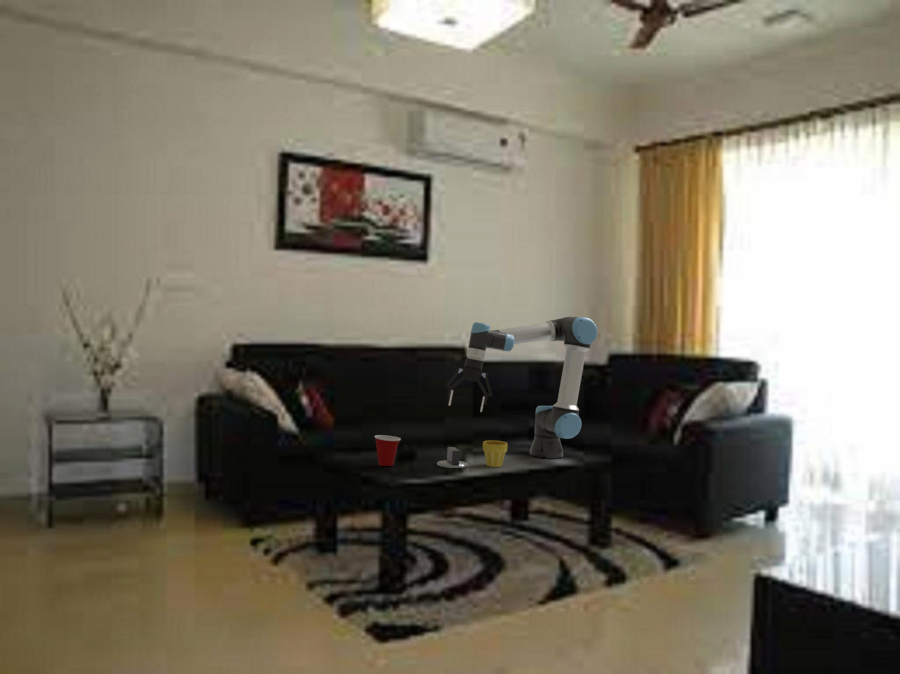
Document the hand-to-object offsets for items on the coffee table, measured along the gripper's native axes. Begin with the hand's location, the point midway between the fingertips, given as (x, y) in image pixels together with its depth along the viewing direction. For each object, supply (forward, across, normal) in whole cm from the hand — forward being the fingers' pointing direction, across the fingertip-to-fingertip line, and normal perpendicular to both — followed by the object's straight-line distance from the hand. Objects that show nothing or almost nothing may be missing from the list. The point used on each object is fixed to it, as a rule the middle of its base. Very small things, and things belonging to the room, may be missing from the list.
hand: (465, 408), depth 338 cm
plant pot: (+21, +17, +2) cm, 27 cm away
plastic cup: (+29, -27, -12) cm, 41 cm away
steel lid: (+24, 0, -3) cm, 25 cm away
